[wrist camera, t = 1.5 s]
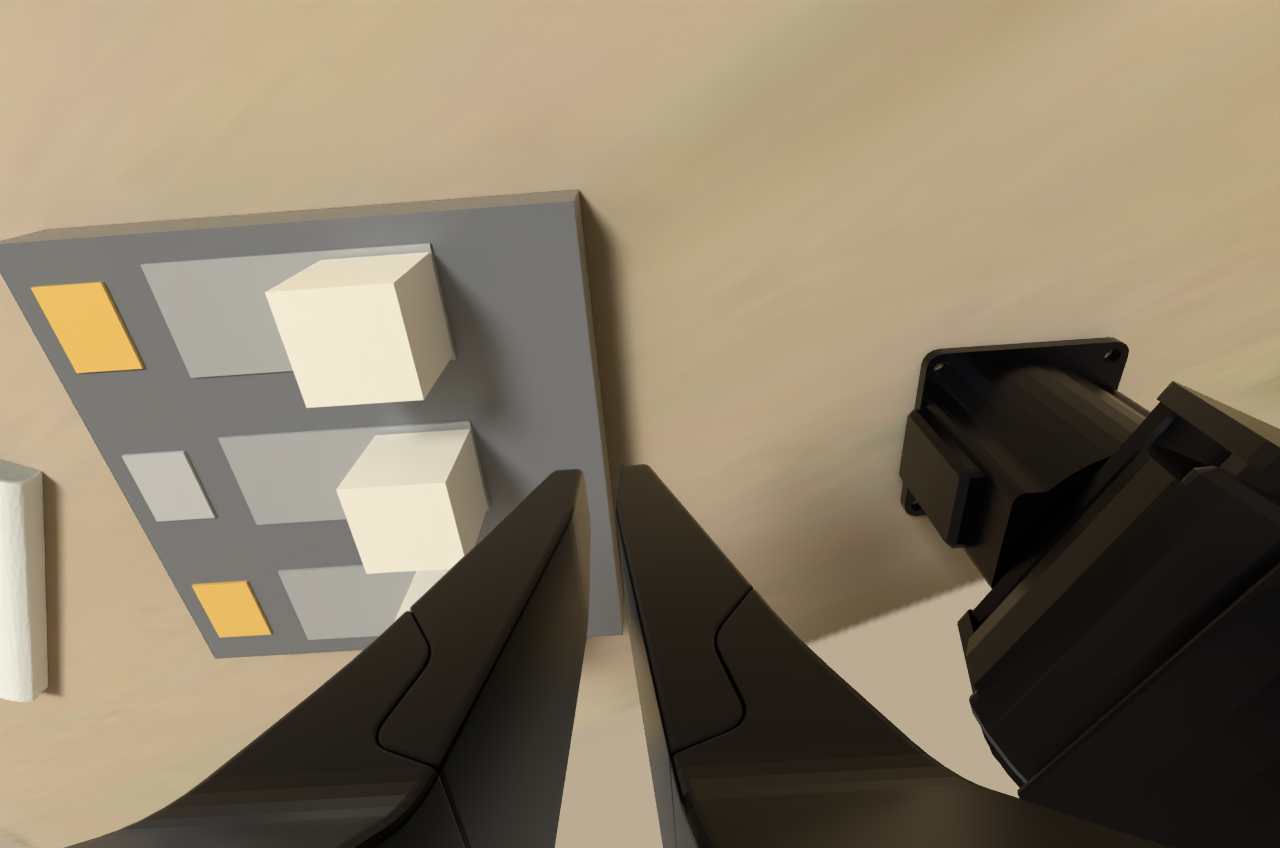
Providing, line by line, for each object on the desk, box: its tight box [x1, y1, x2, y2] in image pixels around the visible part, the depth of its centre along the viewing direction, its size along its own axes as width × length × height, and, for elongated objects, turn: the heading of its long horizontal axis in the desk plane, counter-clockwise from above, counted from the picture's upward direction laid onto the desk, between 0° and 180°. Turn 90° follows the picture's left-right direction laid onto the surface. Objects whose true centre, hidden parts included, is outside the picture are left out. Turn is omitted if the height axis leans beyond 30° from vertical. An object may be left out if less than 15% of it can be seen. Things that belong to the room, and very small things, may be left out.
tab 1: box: [265, 252, 453, 408], centre depth 17 cm, size 3×3×3 cm
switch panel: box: [0, 190, 624, 659], centre depth 22 cm, size 16×16×2 cm
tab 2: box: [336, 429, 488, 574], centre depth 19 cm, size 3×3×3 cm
